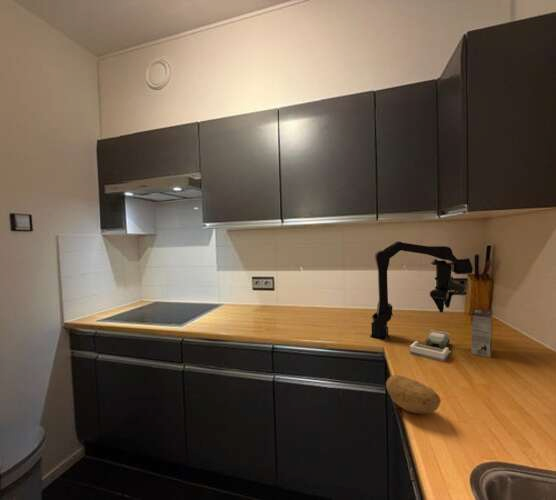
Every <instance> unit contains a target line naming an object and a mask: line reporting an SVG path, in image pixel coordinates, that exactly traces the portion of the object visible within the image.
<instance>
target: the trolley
mask: <svg viewBox="0 0 556 500" xmlns="http://www.w3.org/2000/svg"><path fill="white" fill-rule="evenodd" d="M424 341H425V342H424V343H425V344H426V346H431V347H432V346H433V344H435V345H438V348H440V349H445V347H447V345H450V343H451V340H450V333H448V332H445V331H436V330H434V329H433V330H432V329H431V330H430V333H429V335H428V336H427V338H426V339H425V340H424ZM447 348H448V347H447Z"/></svg>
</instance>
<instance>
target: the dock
mask: <svg viewBox="0 0 556 500" xmlns="http://www.w3.org/2000/svg"><path fill="white" fill-rule="evenodd" d="M451 353H452V351H451V350H449V347H445V348H444V349H442V348H440V347H434V346H432V345H431V346H429V345H427V344H426V345H424V344H420V343H419V341H418V340H415V341H414V342H412V344H411V345H409V354H411V355H415V356H419V357H422V358H427V359H431V360H436V361H438V362H439V361H440V362H443V363H444V362H445V361H446V360H447V358H448V357H449V356H450V355H451Z"/></svg>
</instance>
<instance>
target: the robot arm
mask: <svg viewBox="0 0 556 500" xmlns="http://www.w3.org/2000/svg"><path fill="white" fill-rule="evenodd" d="M400 251H402V252H409V253H415V254H416V253H417V254H423V255H428V256H431V257H433V258H434V259H433V260H432V261H431V262H430V264H431V265H432V266H433V265H434V266H435V270H436V271H435V272H436V273H435V277H434V280H436V285H435V286H434V289H432V290H431V291H429V297H430V298H431V299H432V300H433V302H434V304H435V305H436V307H437V309H438V311H439V313H444V309H445V308H447V309H448V308H450V305H451V302H452V297H454V295H455V294H456V293H459V294H464V293H466V291H467V288H468V284H467V281H466V280H463V279H461V280H459V281H458V280H454V279H455V278H454V276H452V273H454V275H471V274H473V266H472V262H471V259H470V258H468V257H464V258H457V257H456V256H455V255H454V252H453V250H452V248H451V247H449V246H445V245H421V244H416V243H415V244H414V243H408V242H402V241H395V242H394V243H392V244H391V245H389V246H388V247H385V248H384V249H383V250H378V251H376V253H375V254H374V259H375V264H376V268H377V281H378V282H377V284H378V302H377V307H376V312H374V313H373V314H372V316H371V318H372V322H371V323H370V324H371V334H370V335H369V338H374V339H378V340H385V339H387V338H388V337H389V327H388V322H389V321H390V320H391V319H392V317H393V316H394V314H393V309H394V307H393V306H392V304H391V303H389V293H388V292H389V291H388V269H389V266H390V259H391V258H393V257H394V256H395V255H397V254H398V253H399V252H400ZM437 259H441V260H437ZM447 261H449V262H447Z"/></svg>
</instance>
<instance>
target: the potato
mask: <svg viewBox="0 0 556 500" xmlns="http://www.w3.org/2000/svg"><path fill="white" fill-rule="evenodd" d="M385 385H386V390H387V393H388V394H389V397H390V398H391V400H392V402H393V403H395V405H397V406H398V407H401V408H402V409H404V410H405V411H407V412H409V413H411V414H412V413H413V414H418V415H419V414H420V415H422V414H423V415H426V414H431V413H432V412H434V411H436V410H438V408H439V406H440V404H441V401H442V400H441V398H440V395H439V394H438V393H436V391H435V390H434V389H433V388H432V387H429V386H427V385H425V384H423V383H421V382H419V381H418V380H415V379H412V378H410V377H407V376H404V375H401V374H393V375H391V376H389V378H388V379H387V380H386V382H385Z"/></svg>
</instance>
